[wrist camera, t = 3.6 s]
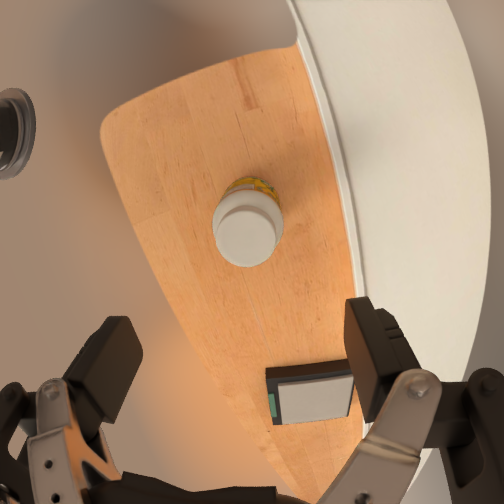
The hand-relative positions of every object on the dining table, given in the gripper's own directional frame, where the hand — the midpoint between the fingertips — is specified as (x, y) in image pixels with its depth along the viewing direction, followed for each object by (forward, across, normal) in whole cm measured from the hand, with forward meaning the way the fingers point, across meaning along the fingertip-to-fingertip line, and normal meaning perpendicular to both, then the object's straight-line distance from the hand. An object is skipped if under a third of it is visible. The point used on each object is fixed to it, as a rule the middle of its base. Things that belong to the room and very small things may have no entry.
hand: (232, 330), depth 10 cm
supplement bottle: (+19, 0, 0) cm, 19 cm away
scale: (+19, -4, +28) cm, 34 cm away
